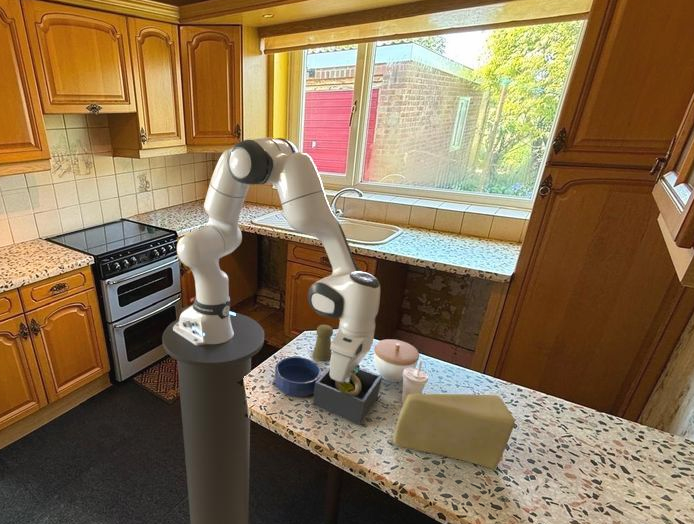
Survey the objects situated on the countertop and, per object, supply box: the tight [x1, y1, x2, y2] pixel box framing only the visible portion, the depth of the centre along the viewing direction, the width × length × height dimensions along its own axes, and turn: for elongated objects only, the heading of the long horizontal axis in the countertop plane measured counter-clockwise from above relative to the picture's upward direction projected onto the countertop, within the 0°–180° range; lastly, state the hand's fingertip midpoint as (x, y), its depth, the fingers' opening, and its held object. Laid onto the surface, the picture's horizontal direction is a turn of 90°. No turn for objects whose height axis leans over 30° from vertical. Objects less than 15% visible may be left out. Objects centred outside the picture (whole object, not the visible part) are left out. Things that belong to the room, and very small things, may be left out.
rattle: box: [335, 364, 361, 397], centre depth 110 cm, size 8×8×12 cm
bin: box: [312, 366, 383, 426], centre depth 110 cm, size 14×14×8 cm
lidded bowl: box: [373, 338, 420, 383], centre depth 120 cm, size 13×13×11 cm
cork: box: [312, 324, 334, 362], centre depth 130 cm, size 6×6×11 cm
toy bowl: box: [274, 356, 322, 398], centre depth 118 cm, size 13×13×5 cm
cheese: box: [392, 393, 516, 470], centre depth 93 cm, size 22×10×15 cm, turn 80°
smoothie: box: [401, 360, 429, 405], centre depth 108 cm, size 6×6×14 cm
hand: (349, 377), depth 108 cm, fingers closed on rattle
